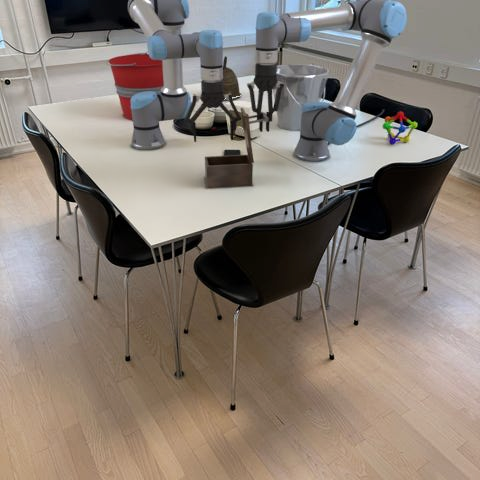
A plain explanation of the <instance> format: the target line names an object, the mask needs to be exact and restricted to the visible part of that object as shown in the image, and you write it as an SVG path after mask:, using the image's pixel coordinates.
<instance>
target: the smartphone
mask: <svg viewBox="0 0 480 480" xmlns="http://www.w3.org/2000/svg"><path fill="white" fill-rule="evenodd" d="M230 155H241V150H240V149H224V151H223V156H230Z"/></svg>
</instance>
